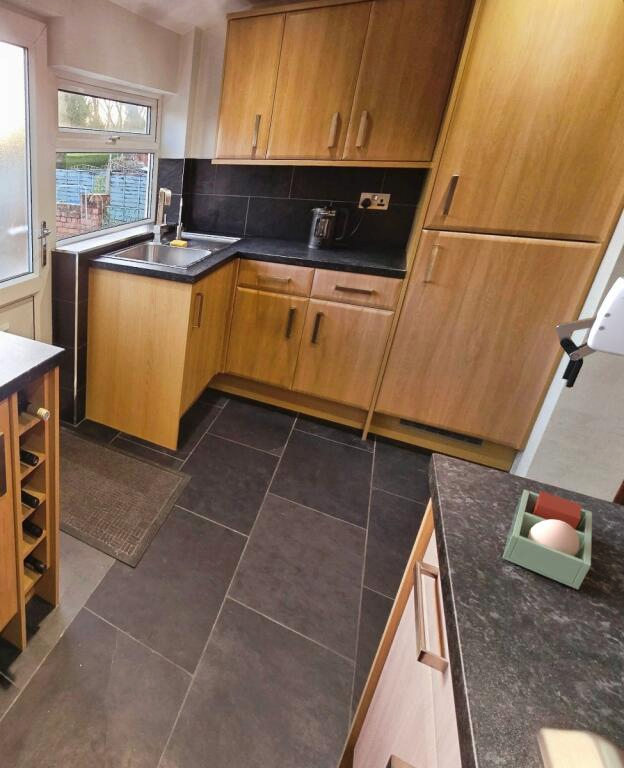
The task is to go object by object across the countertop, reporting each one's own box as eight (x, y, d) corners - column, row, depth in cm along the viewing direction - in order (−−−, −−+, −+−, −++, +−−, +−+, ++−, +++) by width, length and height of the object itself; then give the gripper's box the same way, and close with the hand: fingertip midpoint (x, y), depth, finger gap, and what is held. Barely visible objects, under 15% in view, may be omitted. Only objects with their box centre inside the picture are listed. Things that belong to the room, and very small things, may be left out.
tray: (581, 533, 73) (592, 512, 71) (578, 589, 62) (591, 565, 61) (515, 509, 78) (524, 489, 76) (502, 558, 67) (512, 535, 66)
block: (568, 530, 72) (581, 504, 71) (567, 545, 69) (580, 519, 68) (529, 516, 75) (540, 491, 73) (526, 530, 72) (538, 504, 70)
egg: (526, 537, 71) (543, 504, 68) (571, 558, 67) (592, 525, 64) (516, 554, 68) (534, 521, 65) (563, 577, 64) (584, 543, 61)
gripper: (771, 279, 60) (700, 407, 67) (583, 260, 71) (538, 371, 77) (787, 287, 55) (708, 424, 61) (581, 265, 65) (533, 384, 72)
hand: (613, 395), depth 69 cm, fingers open, 9 cm apart
